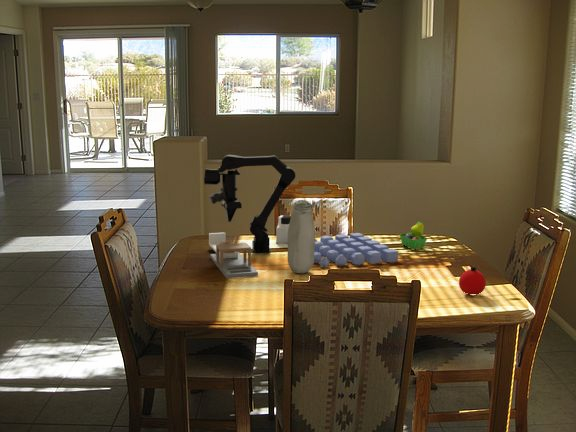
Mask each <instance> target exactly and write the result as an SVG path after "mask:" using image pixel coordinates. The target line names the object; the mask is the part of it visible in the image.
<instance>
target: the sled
mask: <svg viewBox="0 0 576 432" xmlns="http://www.w3.org/2000/svg"><path fill="white" fill-rule="evenodd" d="M226 236H227V235H226V232H209V233H208V245H209V246H210V247H211V249H212V250H213V251H214V252H215V253H216V245H218V244H220V243H223V242H227V241H226V240H227V238H226ZM238 252H239V251H235V252H233V253H223V259H226V258H238ZM219 257H220V251H219Z"/></svg>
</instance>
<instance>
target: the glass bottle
mask: <svg viewBox="0 0 576 432" xmlns="http://www.w3.org/2000/svg"><path fill="white" fill-rule="evenodd" d="M290 216H291V220H290V224H289V228H288V244H287V263H288V267H289V268H290V270H291V271H292V272H293V273H294V274H295V273H296V274H306V273H308V272H310V271H311V269H312V268H313V266H314V264H315V263H314V247H315V239H316V231H315V224H314V219H313V209H312V205H311V203H310V202H309V201H308V200H306V199H300V200H295V202H294V203H293V204H292V207H291V214H290Z"/></svg>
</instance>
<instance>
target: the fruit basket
mask: <svg viewBox="0 0 576 432" xmlns="http://www.w3.org/2000/svg"><path fill="white" fill-rule="evenodd" d="M424 229H425V226H424V223H423V222H421V221H418V222H416V223H415V225H413V226H411V228H410V230H411V232H407V233H402V234H399V237H400V241H401V246H402V245H405V246H407V247H410V248H413V249H416V248H422V247H424V248H425V245H426V242H427V240H428V238H427V237H425V236H423V234H424ZM407 247H406V248H407Z"/></svg>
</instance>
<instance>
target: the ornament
mask: <svg viewBox="0 0 576 432" xmlns="http://www.w3.org/2000/svg"><path fill="white" fill-rule="evenodd" d="M458 285H459V288H460V290H461V291H462V293H464V292H465V293H468V294H479V293H480V294H482V293H483V292H484V290H485V288H486V285H487V281H486V278H485V275H484V274H483V273H482V272H480V271H479V270H477V267H475V266H471V267H470V269H468V270H466V271H463V272H462V274H461V275H460V276H459V280H458ZM481 292H482V293H481ZM465 293H464V294H465ZM480 294H479V295H480Z"/></svg>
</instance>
